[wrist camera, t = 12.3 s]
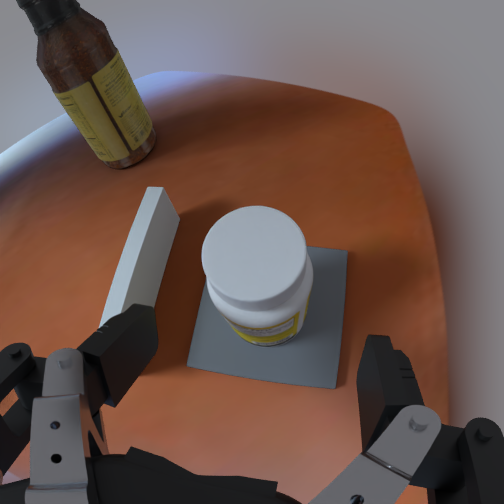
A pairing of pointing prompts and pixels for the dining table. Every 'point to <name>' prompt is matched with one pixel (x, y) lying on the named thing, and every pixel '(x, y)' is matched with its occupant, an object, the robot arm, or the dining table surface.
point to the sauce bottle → (91, 81)
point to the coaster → (292, 352)
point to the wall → (143, 254)
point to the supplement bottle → (259, 274)
